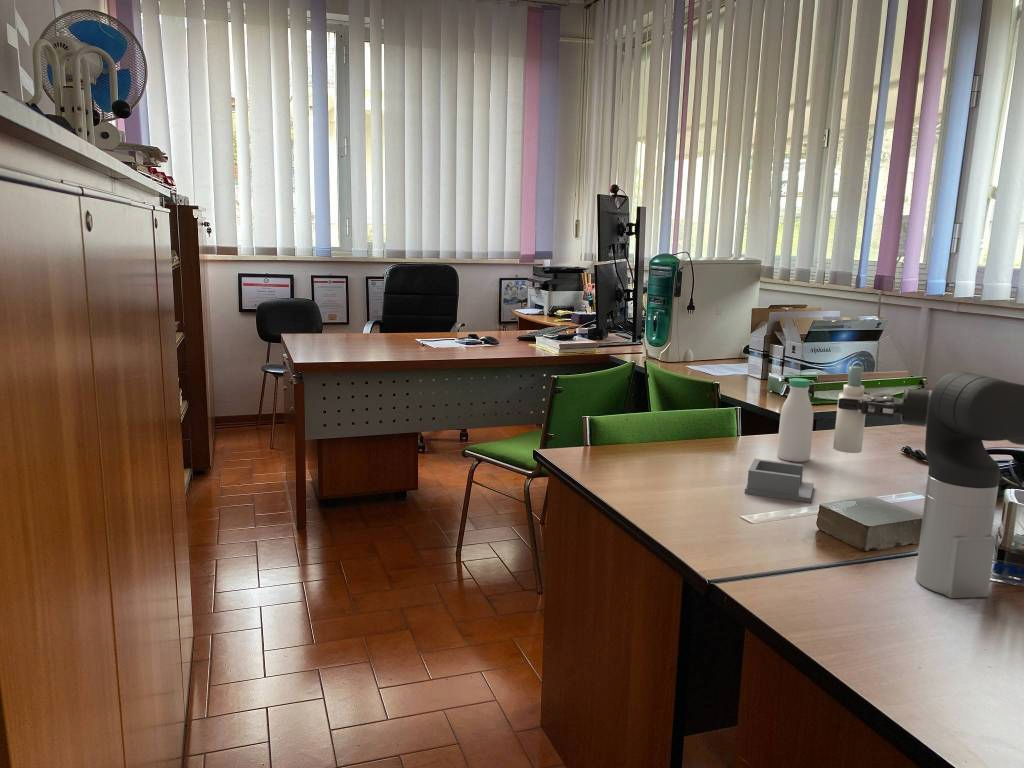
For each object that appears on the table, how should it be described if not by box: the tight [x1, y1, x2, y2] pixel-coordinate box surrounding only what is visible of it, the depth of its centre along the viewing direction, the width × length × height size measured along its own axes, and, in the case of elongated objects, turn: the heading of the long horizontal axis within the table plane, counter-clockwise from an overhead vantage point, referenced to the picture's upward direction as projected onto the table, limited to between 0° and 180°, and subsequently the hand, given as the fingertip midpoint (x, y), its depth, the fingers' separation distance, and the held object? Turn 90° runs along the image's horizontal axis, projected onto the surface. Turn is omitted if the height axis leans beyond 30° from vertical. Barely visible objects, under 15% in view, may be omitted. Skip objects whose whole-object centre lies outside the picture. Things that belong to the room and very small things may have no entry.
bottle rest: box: [744, 458, 815, 504], centre depth 159 cm, size 11×13×5 cm
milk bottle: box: [776, 377, 814, 463], centre depth 183 cm, size 8×8×20 cm
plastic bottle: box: [832, 365, 869, 454], centre depth 158 cm, size 6×6×18 cm
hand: (839, 400), depth 159 cm, fingers closed on plastic bottle, 5 cm apart
